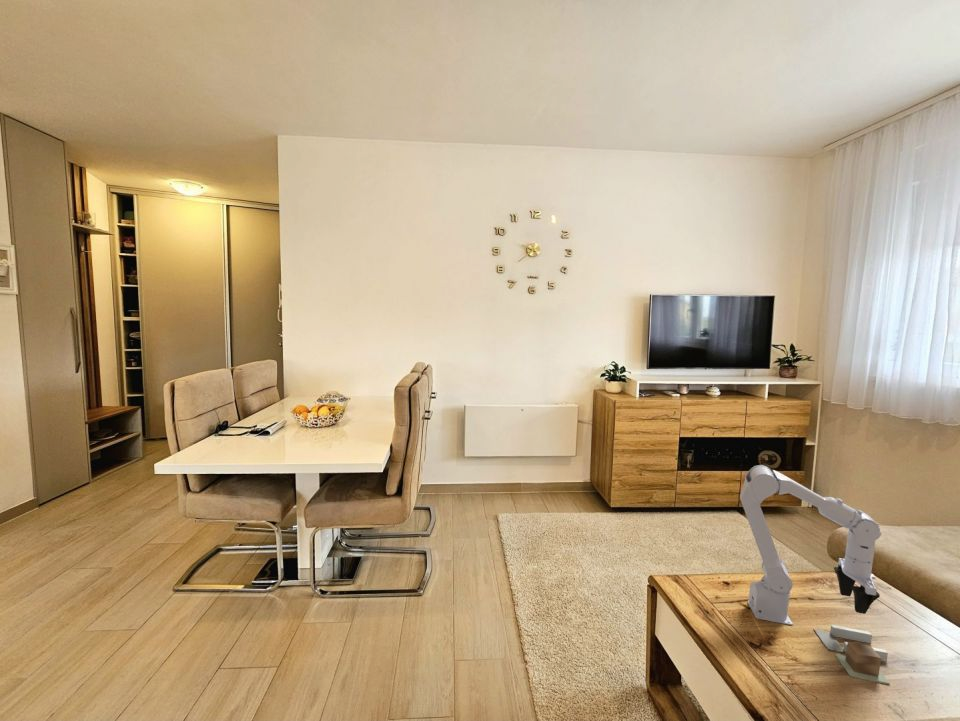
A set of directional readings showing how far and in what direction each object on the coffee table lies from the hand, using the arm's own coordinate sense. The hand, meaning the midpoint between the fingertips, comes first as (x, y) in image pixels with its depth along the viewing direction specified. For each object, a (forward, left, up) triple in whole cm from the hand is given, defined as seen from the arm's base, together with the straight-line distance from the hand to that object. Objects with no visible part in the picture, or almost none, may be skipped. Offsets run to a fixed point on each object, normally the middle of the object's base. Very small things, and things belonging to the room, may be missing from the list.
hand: (852, 603), depth 120 cm
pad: (-4, -14, -9) cm, 17 cm away
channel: (-2, -5, -9) cm, 11 cm away
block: (-4, -14, -9) cm, 17 cm away
